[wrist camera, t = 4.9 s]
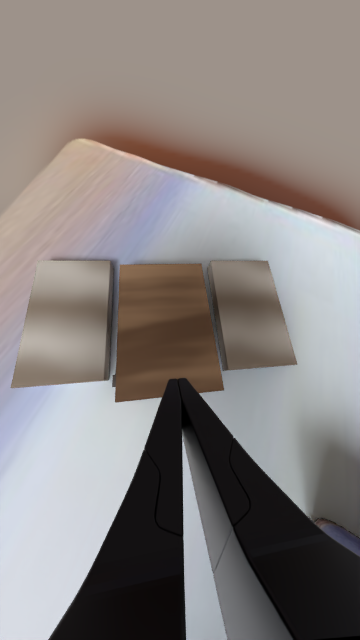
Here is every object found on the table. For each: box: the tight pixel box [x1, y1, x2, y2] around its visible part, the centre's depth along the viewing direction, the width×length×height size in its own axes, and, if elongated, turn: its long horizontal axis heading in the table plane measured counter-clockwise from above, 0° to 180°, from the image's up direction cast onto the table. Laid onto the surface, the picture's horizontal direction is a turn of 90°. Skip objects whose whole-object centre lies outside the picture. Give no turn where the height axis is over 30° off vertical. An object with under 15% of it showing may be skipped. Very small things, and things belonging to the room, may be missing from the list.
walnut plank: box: [115, 264, 224, 402], centre depth 16 cm, size 3×8×12 cm
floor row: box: [11, 261, 297, 388], centre depth 18 cm, size 13×25×2 cm, turn 95°
